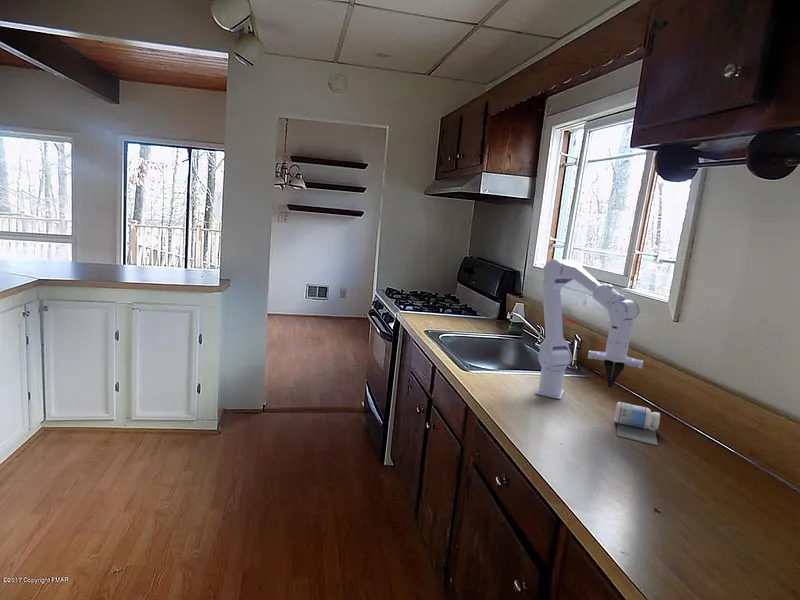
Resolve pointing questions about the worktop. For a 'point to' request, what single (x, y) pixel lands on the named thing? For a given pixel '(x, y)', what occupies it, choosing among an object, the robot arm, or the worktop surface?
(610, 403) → the worktop surface
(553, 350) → the robot arm
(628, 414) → the pill bottle
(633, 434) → the mat
